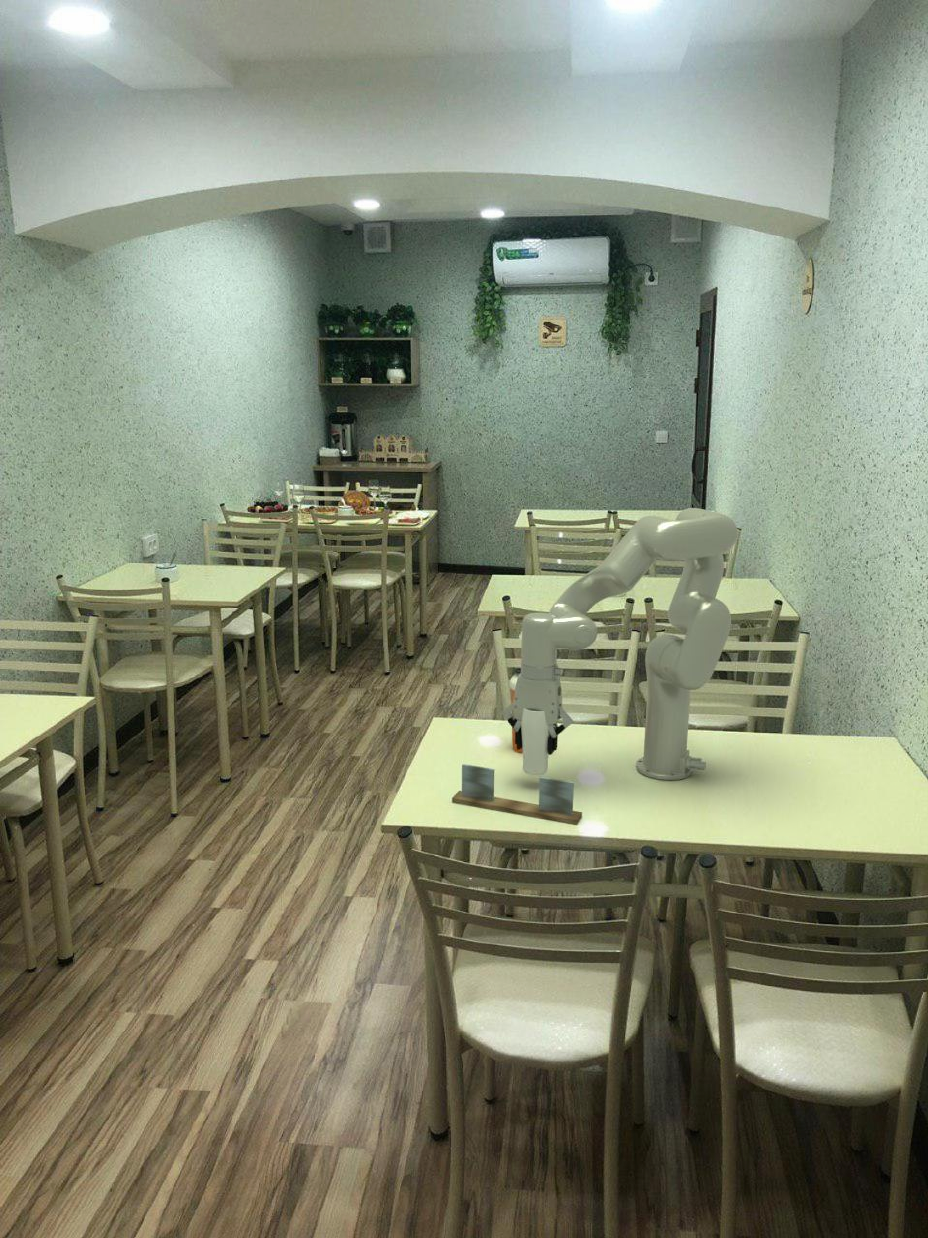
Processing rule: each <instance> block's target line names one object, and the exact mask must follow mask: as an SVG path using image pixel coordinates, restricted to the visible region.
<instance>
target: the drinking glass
mask: <svg viewBox="0 0 928 1238" xmlns="http://www.w3.org/2000/svg"><path fill="white" fill-rule="evenodd" d="M521 733H522V749H523V754H522V770H523V772H524V773H525V774H528V775H531V776H542V775H544V774H547V772H548V766H549V765H548V763H549V756H550V755H549V754H548V738H549V736H550V732H549V725H547V724H546V718H545V712H544V711H531V710H527V709H525V708H524V709H523V714H522V721H521Z"/></svg>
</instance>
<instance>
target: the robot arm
mask: <svg viewBox="0 0 928 1238" xmlns="http://www.w3.org/2000/svg"><path fill="white" fill-rule="evenodd" d="M737 538H738V527H737V525H736V523H735V521H734V520H733V519H732V518H731V517H730V516H728V515H726V514H725V513H720V512H716V511H712V510H711V511H710V510H708V509H704V508H698V507H688V508H685V509H683V510H681V511H680V512H679V513H678V514H677V516H676V517H675V519H673V520H671V519H668V518H664V517H660V516H656V515H646V516H642V517H640V518H639V519H638V520H637V521H636V522H635V523H634V524H633V525H632V526H631V527H630V529H629V530H628V531H627V533H626V534H625V535H624V536H622V538H621V539H620V541H619V542H618V543H617V544H616V546H615V547H614V548H613V549H612V550H611V552H610V553H609V554H608V556H606V558H605V559H604V560H603V561H602V562H601V563H600V565H598V566H597V567H596V568H594V569H592V570H590V571H589V572H587V573H586V574H585V575H583V576H581V577H580V578H578V579H576V580H575V581H574V582H573V583H572V584H571V585H569V587H568V588H566V590H565V591H564V592H563V593H562V594H561V595H560V596H559V598H558V599H557V600H556V601H555V602H554V604H553V605H552V606H551V608H550V609H549V611H548V613H547V612H530V613H528V614H525V616H524V617H523V619H522V621H521V622H522V625H521V656H520V657H521V659H520V660H521V661H520V668H521V673H520V674H519V675H518V678H517V682H516V687H515V693H514V701H513V703H512V704H509V705H508V706H507V707H506V708H504V709H503V710H502V712H501V714H502V716H503V717H504V718H505V720H507V722H508V724H509V725H510V726H511V728H512V727H513V730H514V731H515V744H517V749H518V750H520V749H521V748H522V733H521V721H522V714H523V709H524V708H525V709H527V710H531V711H544V712H545V718H546V724H547V725H549V732H550V736H549V738H548V754H549V756H550V755H553V754H554V753H555V751H557V748H558V738H559V737H558V736H559V735H560V734H561V733H563V732H564V731H565V730H566V729H567V728H568V727H570V726H571V724H573V718H572V717H571V716H570V715H569V714H568V712H566V711H565V710H564V708H563V691H562V689H563V688H562V681H561V678H560V677H559V675H560V676H562V675H563V672H564V668H561V667H559V666H558V662H557V661H558V659H557V657H558V649H565V650H576V651H577V650H584V649H588V648H589V647H591V646H592V645H593V644H594V643H595V641H596V640H597V637H598V628H597V626H596V624H595V622H594V620H592V619H591V618H590V617H589V616H587V615H586V614H587V613H588V612H589V611H590V610H591V609H592V608H593V607H594V606H595V605H596V604H598V603H600V602H601V601H604V600H606V599H608V598H611V597H615V596H620V595H622V594H626V593H628V592H630V591H632V590H633V589H634V588H635V586H636V585H637V584H638V582H640V580H641V579H642V578H643V577H644V575H645V574H646V573H647V572H648V571H649V569H650V568H651V567H652V565H654V564H655V563H656V561H657V560H660V561H663V562H680V561H682V562H683V561H684V566H683V569H682V573H681V576H680V579H679V582H678V583H677V586H676V589H675V591H674V594H673V597H672V599H671V601H670V604H669V607H668V610H667V619H668V622H669V624H670V625H671V626H672V627H674V628H675V629H676V630H678V631H680V632H682V633H683V634H685V636H684V638H682V637H681V636H680V637H679V636H678V635H676V634H675V635H674V634H667V633H666V634H660V635H658V636H656V637H654V638H653V639H652V640H651V641H650V642H649V643H648V646H647V648H646V651H645V655H644V656H645V660H644V662H645V671H646V672H645V673H646V679H647V680H646V682H647V684H646V687H647V689H646V690H647V691H646V693H647V694H646V706H645V709H646V710H645V724H644V726H645V727H644V729H645V730H644V741H643V742H644V743H643V756H642V757H639V758H638V760H636V764H635V765H636V766H635V767H636V771H638V772H639V773H641V774H642V775H644V776H645V777H649V778H652V779H657V780H664V781H677V780H682V779H686V778H688V777H689V776H691V775H692V774H693V769H695V770H698V771H705V770H706V765H707V764H706V763H707V762H706V761H703V760H702V759H703V758H701V757H700V758H699V757H692V755H690V749H688V737H689V736H688V735H689V734H688V733H689V721H690V720H689V719H690V707H691V691H694V690H695V691H696V690H699V689H701V688H702V687H704V686H705V685H706V684H707V683H708V682H709V681H710V679H711V678H712V676H713V674H714V672H715V670H716V667H717V665H718V662H719V660H720V658H721V655H722V652H723V650H724V647H725V644H726V642H727V640H728V637H729V635H730V633H731V626H732V616H731V612H730V610H729V607H728V606H727V605H726V604H725V603H724V602H723V601H721V599H717V598H716V597H717V594H718V592H719V588H720V585H721V582H722V580H723V576H724V573H725V572H724V570H725V561H724V560H725V558H724V555H723V554H724V553H727V552H728V551H729V550H730V549H731V548H733V546H734V544H735V543H736V541H737ZM512 710H513V716H512ZM560 719H561V720H562V721H563V722H562V723H561V724H560V725H558V720H560Z"/></svg>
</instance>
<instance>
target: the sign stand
mask: <svg viewBox="0 0 928 1238" xmlns="http://www.w3.org/2000/svg"><path fill="white" fill-rule="evenodd" d="M574 785H575V782H574V781H569V780H563V779H557V778H551V777H544V776H540V777H539V788H538V789H539V790H538V804H537V803H531V802H526V801H519V800H515V799H509V798H503V797H498V796H495V769H494V768H492V767H491V768H489V767H484V766H478V765H472V764H466V763H462V765H461V790H458V791H457V792H456V793H455V794H454V795H453V796H452V797H451V803H455V804H460V805H465V806H470V807H477V808H481V809H482V808H483V809H487V810H494V811H497V812H505V813H508V814H509V813H510V814H514V815H521V816H527V817H531V818H535V819H536V818H538V819H542V820H547V821H553V822H558V823H559V822H560V823H565V824H569V825H576V826H578V823H579V822H580V821H581V819H582V817H583V812H582V811H576V810H574V789H575V787H574Z"/></svg>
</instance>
